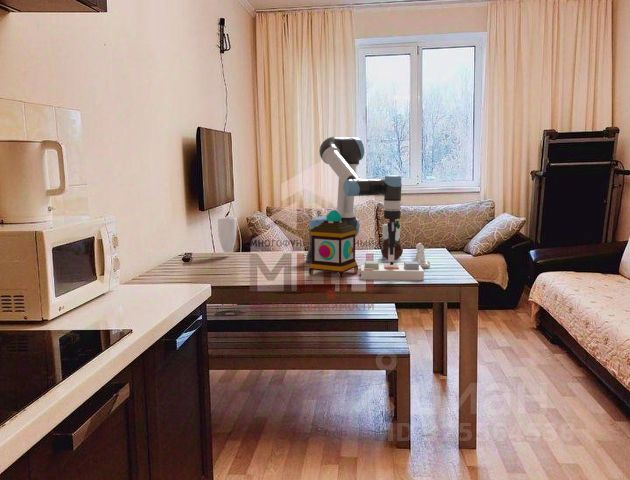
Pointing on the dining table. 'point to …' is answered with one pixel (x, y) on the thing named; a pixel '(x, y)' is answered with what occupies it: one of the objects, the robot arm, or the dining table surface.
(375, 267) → the sage key
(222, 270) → the dining table surface
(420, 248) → the sitting furry creature
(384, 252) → the ice cream bowl
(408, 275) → the console
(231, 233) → the cup
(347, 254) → the decorative lantern
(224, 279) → the dining table surface
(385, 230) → the milk carton
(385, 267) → the terracotta key
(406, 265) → the slate key
